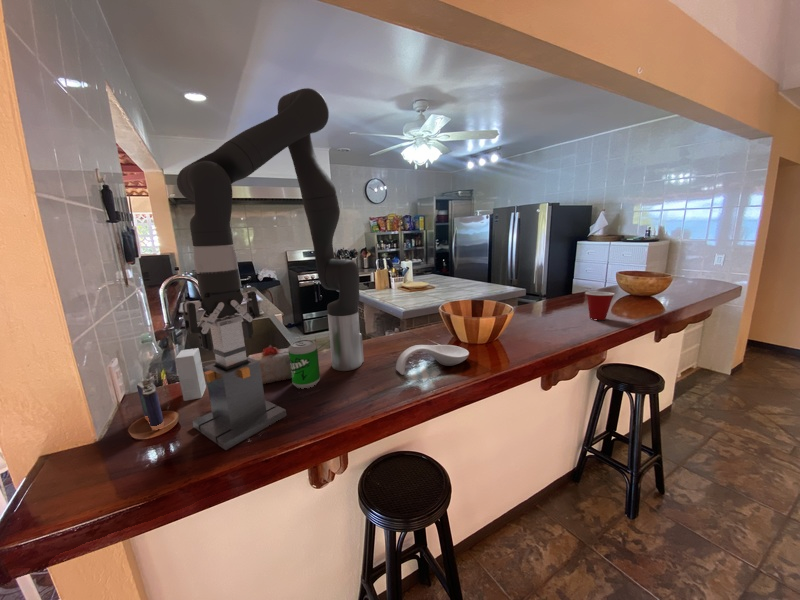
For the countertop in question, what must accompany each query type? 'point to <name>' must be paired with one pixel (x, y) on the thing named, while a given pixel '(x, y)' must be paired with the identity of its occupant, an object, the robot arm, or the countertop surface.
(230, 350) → the column
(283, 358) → the food item
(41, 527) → the countertop surface
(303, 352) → the soda can
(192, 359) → the skincare box
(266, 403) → the stand
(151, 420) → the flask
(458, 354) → the spoon rest
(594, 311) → the plastic cup
